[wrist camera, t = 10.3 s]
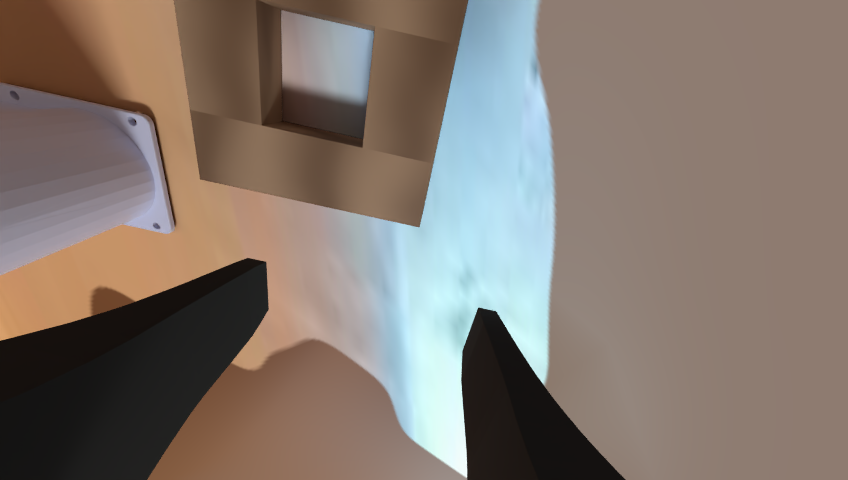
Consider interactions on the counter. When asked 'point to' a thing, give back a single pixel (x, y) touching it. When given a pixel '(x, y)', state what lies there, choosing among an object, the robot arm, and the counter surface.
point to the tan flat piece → (309, 147)
